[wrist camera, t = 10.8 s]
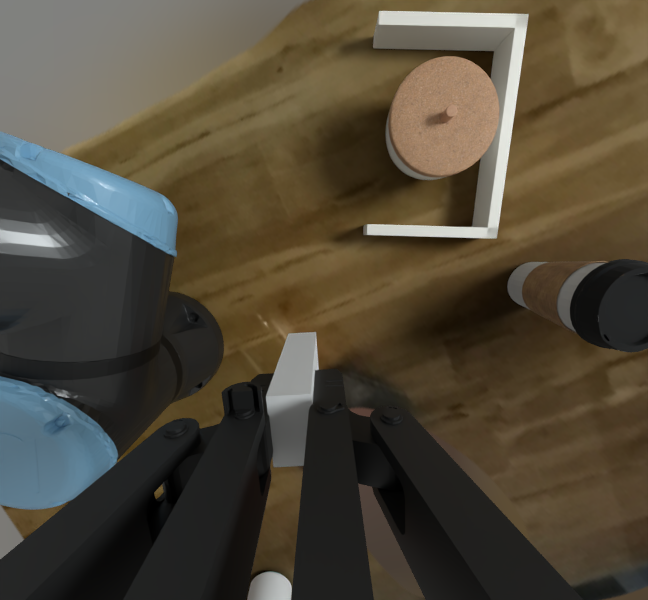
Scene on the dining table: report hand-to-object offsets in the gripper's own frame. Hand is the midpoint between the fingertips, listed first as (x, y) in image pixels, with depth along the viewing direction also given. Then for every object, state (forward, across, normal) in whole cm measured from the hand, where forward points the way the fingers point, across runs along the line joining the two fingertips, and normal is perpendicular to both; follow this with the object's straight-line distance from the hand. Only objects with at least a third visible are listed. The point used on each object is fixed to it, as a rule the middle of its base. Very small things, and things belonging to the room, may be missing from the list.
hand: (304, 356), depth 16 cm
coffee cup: (+25, +29, -2) cm, 38 cm away
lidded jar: (+25, +14, +17) cm, 33 cm away
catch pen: (+25, +15, +17) cm, 33 cm away
